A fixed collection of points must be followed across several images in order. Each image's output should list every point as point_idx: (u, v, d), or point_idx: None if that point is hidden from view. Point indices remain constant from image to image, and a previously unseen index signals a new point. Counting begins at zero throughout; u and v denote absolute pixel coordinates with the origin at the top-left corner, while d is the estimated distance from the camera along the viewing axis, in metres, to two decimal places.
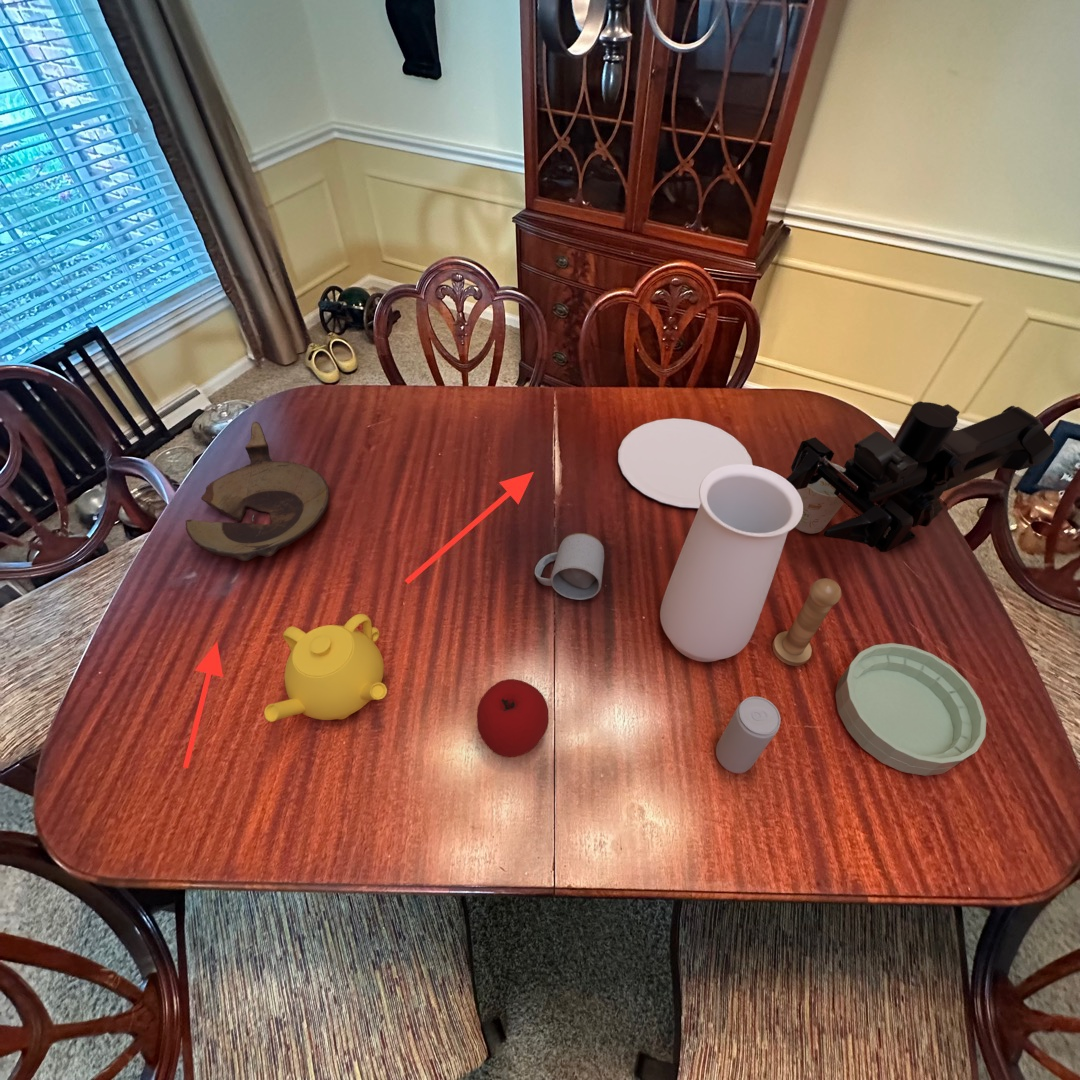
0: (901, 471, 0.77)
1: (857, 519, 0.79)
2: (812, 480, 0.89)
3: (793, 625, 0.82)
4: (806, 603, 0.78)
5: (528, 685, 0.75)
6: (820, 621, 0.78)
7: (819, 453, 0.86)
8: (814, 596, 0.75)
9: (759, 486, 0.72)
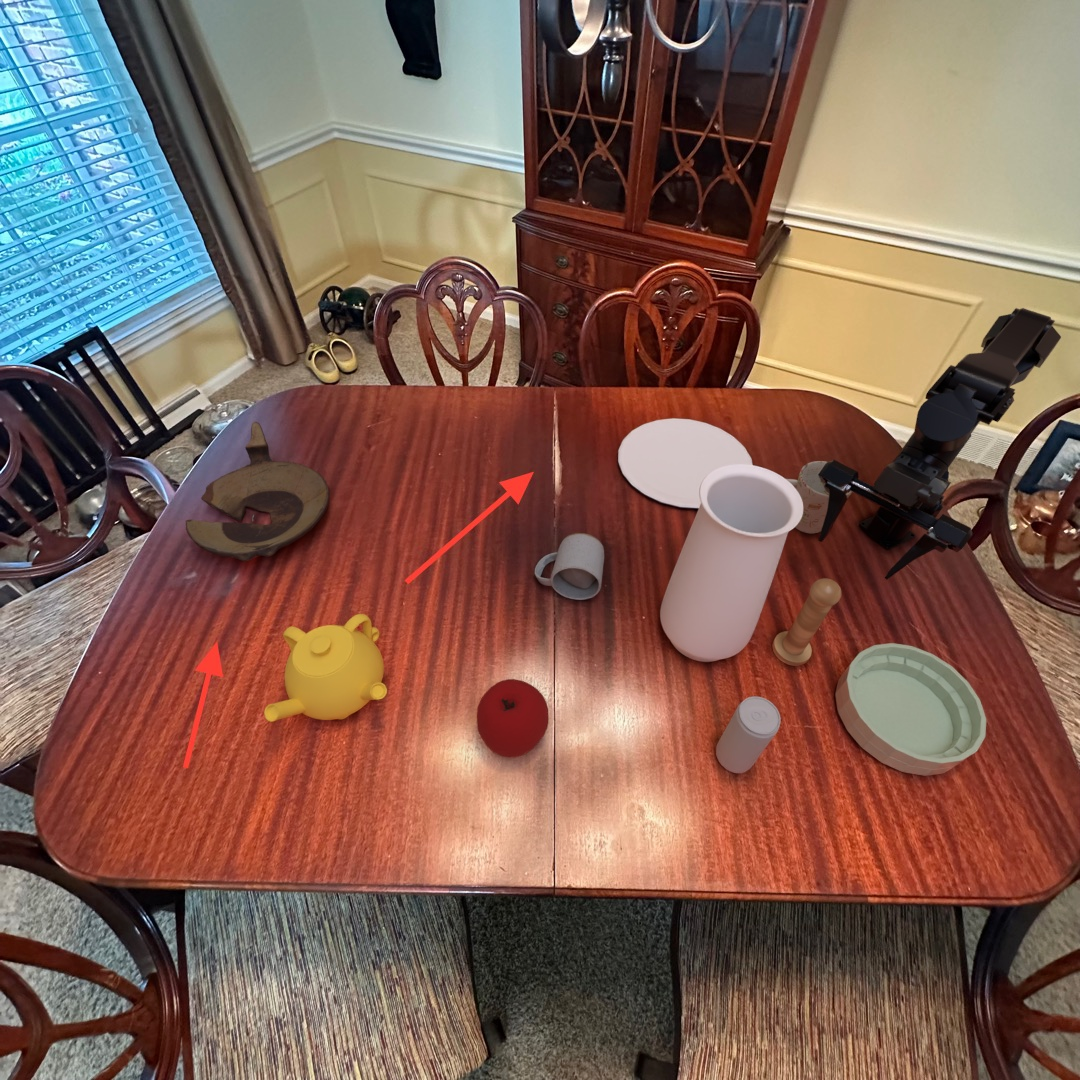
0: (935, 503, 0.70)
1: (912, 552, 0.76)
2: None
3: (793, 625, 0.82)
4: (806, 603, 0.78)
5: (528, 685, 0.75)
6: (820, 621, 0.78)
7: (842, 485, 0.79)
8: (814, 596, 0.75)
9: (760, 486, 0.72)
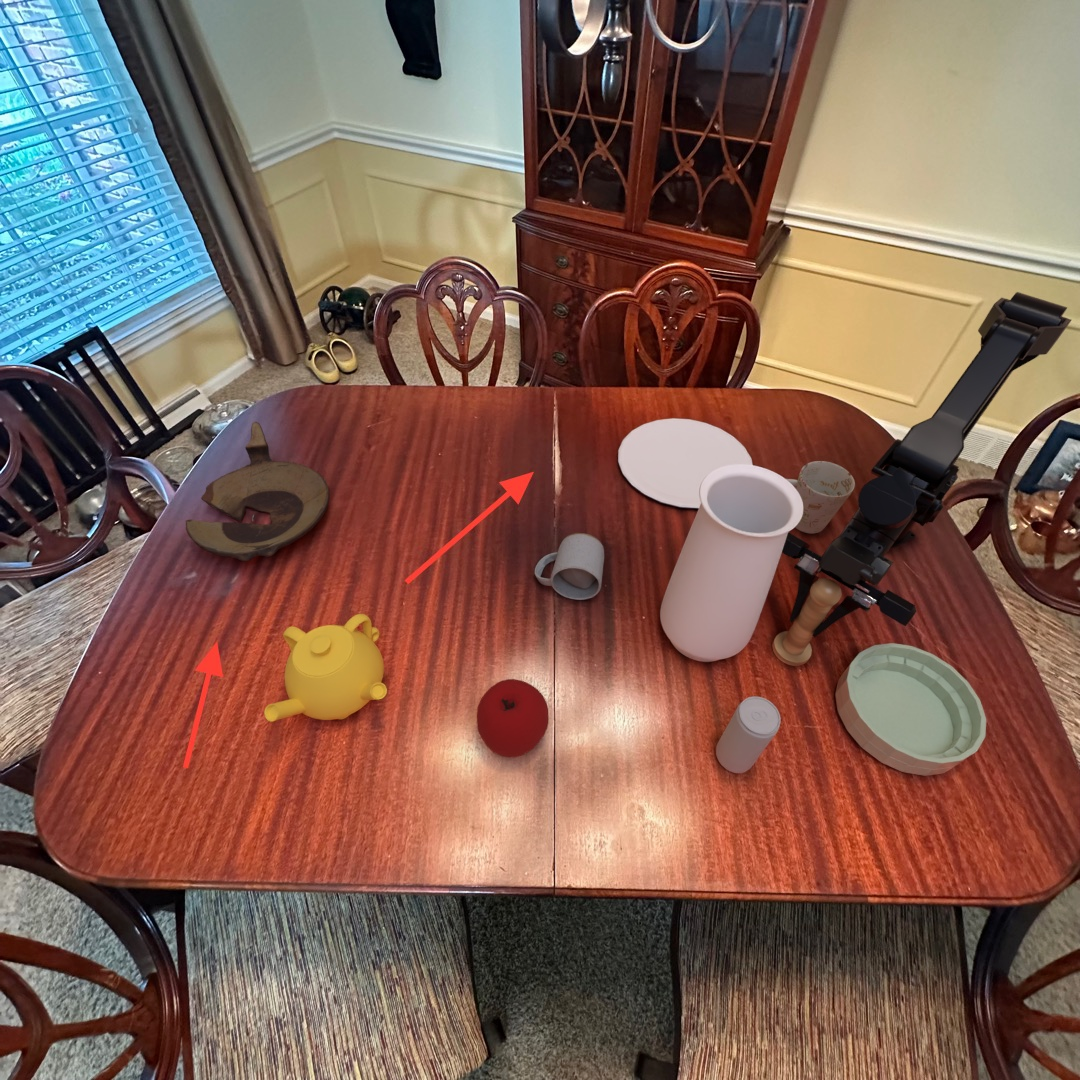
0: (877, 583, 0.71)
1: (837, 612, 0.77)
2: None
3: (793, 625, 0.82)
4: (806, 603, 0.78)
5: (528, 685, 0.75)
6: (820, 621, 0.78)
7: (791, 556, 0.79)
8: (814, 596, 0.75)
9: (760, 486, 0.72)
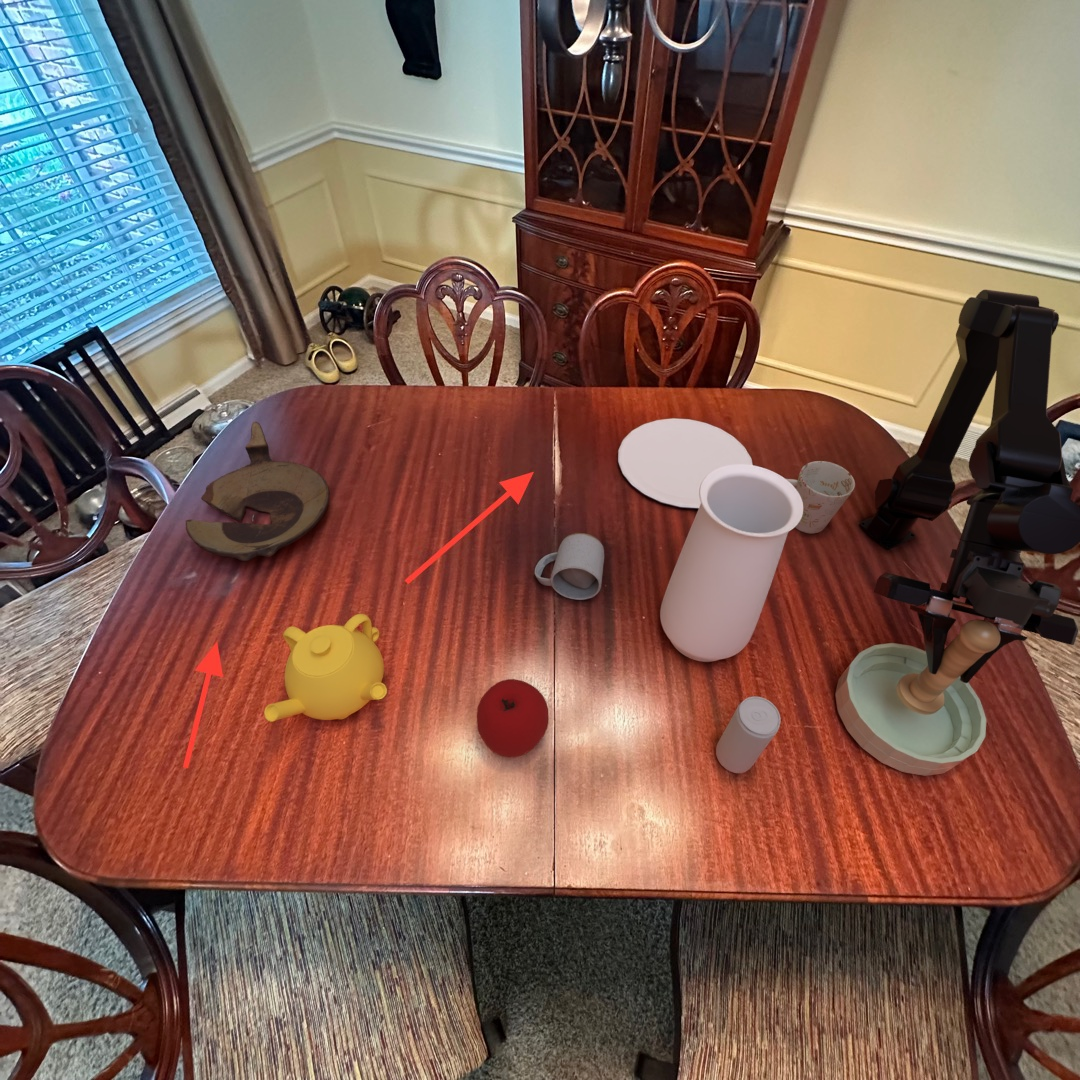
0: None
1: None
2: None
3: (931, 675, 0.71)
4: (955, 652, 0.67)
5: (528, 685, 0.75)
6: None
7: (920, 604, 0.67)
8: (974, 646, 0.64)
9: (760, 486, 0.72)
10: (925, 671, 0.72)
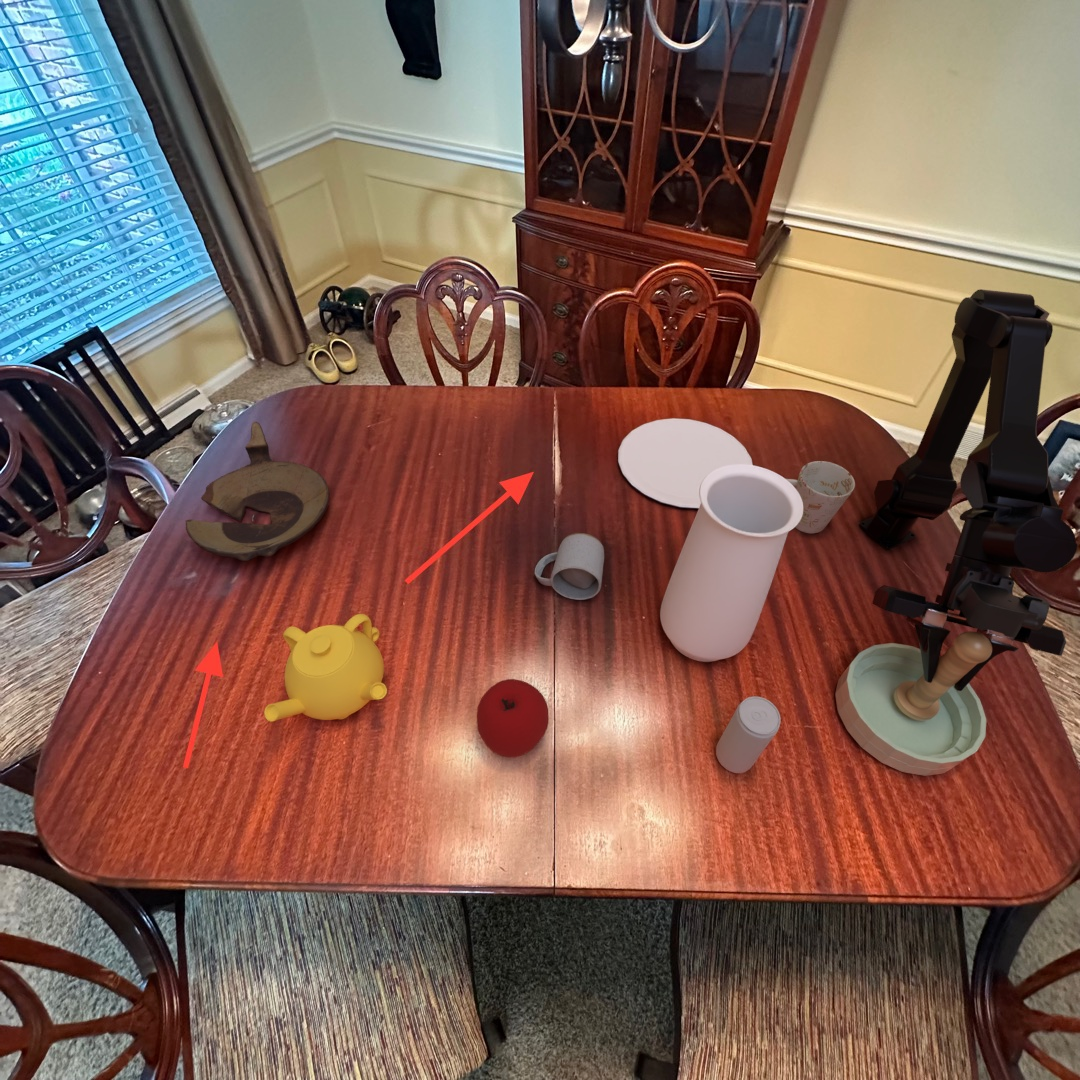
0: None
1: None
2: None
3: (927, 683, 0.74)
4: (950, 662, 0.70)
5: (528, 685, 0.75)
6: None
7: (916, 616, 0.71)
8: (968, 657, 0.67)
9: (760, 486, 0.72)
10: (921, 679, 0.75)
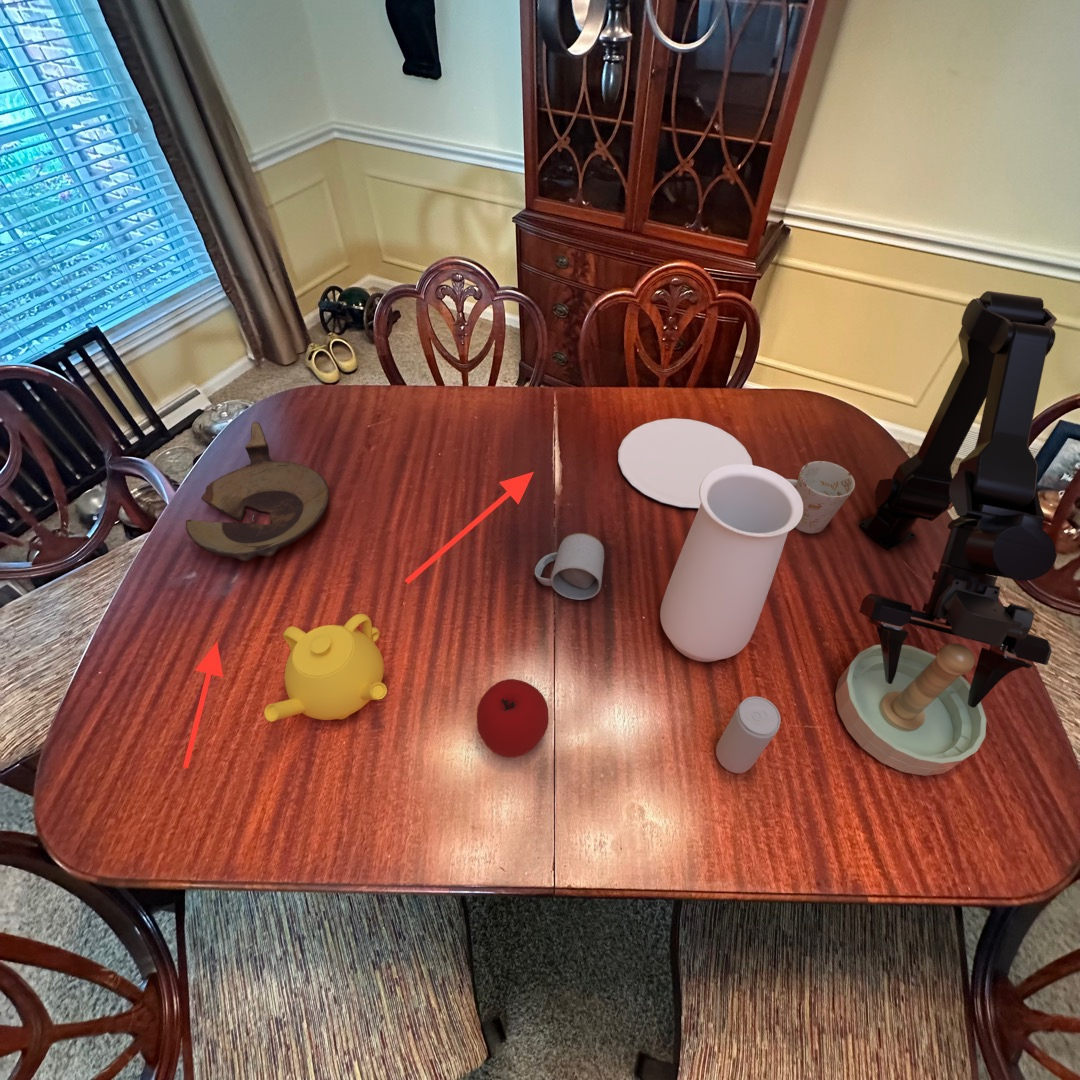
0: None
1: (993, 676, 0.70)
2: None
3: (912, 694, 0.75)
4: (933, 674, 0.70)
5: (528, 685, 0.75)
6: (948, 685, 0.71)
7: (902, 624, 0.71)
8: (950, 668, 0.68)
9: (760, 486, 0.72)
10: (906, 690, 0.76)
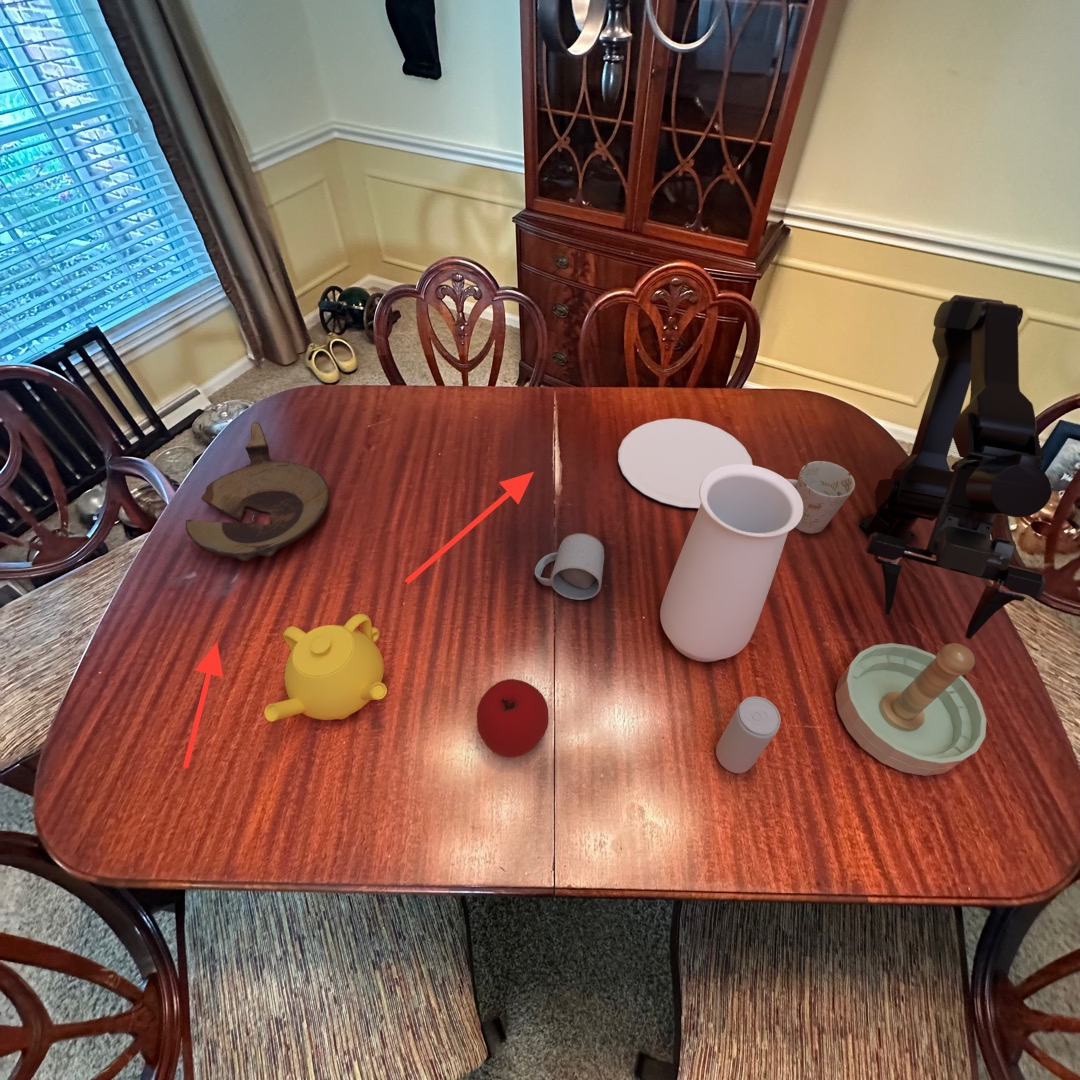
0: None
1: (988, 609, 0.74)
2: None
3: (912, 694, 0.75)
4: (933, 674, 0.70)
5: (528, 685, 0.75)
6: (948, 685, 0.71)
7: (896, 558, 0.76)
8: (950, 668, 0.68)
9: (760, 486, 0.72)
10: (906, 690, 0.76)
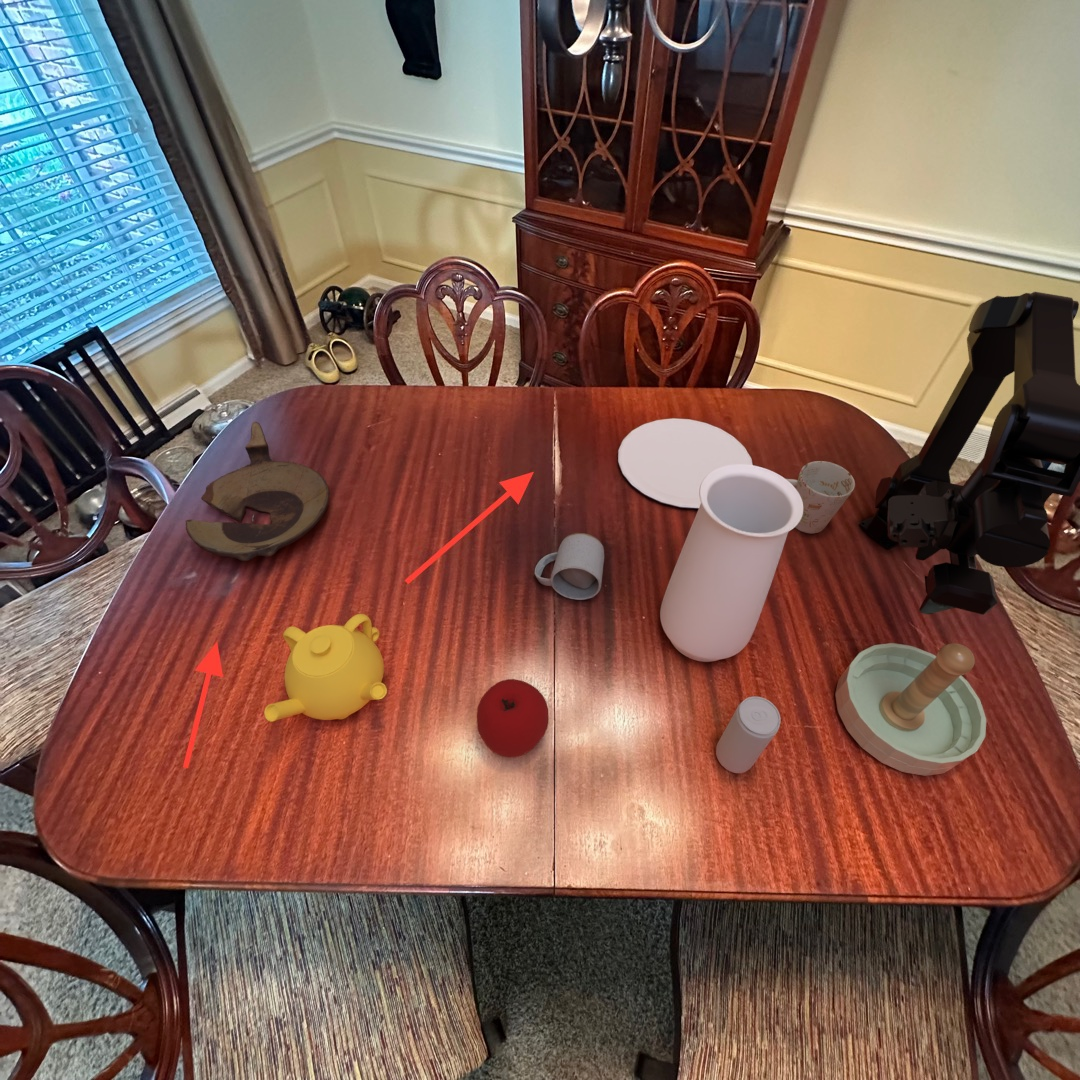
0: (902, 544, 0.69)
1: None
2: None
3: (912, 694, 0.75)
4: (933, 674, 0.70)
5: (528, 685, 0.75)
6: (948, 685, 0.71)
7: None
8: (950, 668, 0.68)
9: (760, 486, 0.72)
10: (906, 690, 0.76)
